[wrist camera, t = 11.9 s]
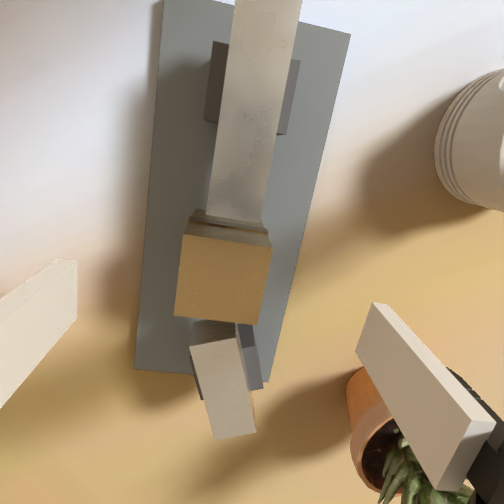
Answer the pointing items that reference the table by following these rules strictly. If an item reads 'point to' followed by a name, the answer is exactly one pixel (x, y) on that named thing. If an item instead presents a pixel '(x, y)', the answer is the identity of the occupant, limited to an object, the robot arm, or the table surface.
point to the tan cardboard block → (222, 269)
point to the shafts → (243, 187)
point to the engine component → (474, 143)
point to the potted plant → (388, 450)
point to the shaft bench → (200, 168)
